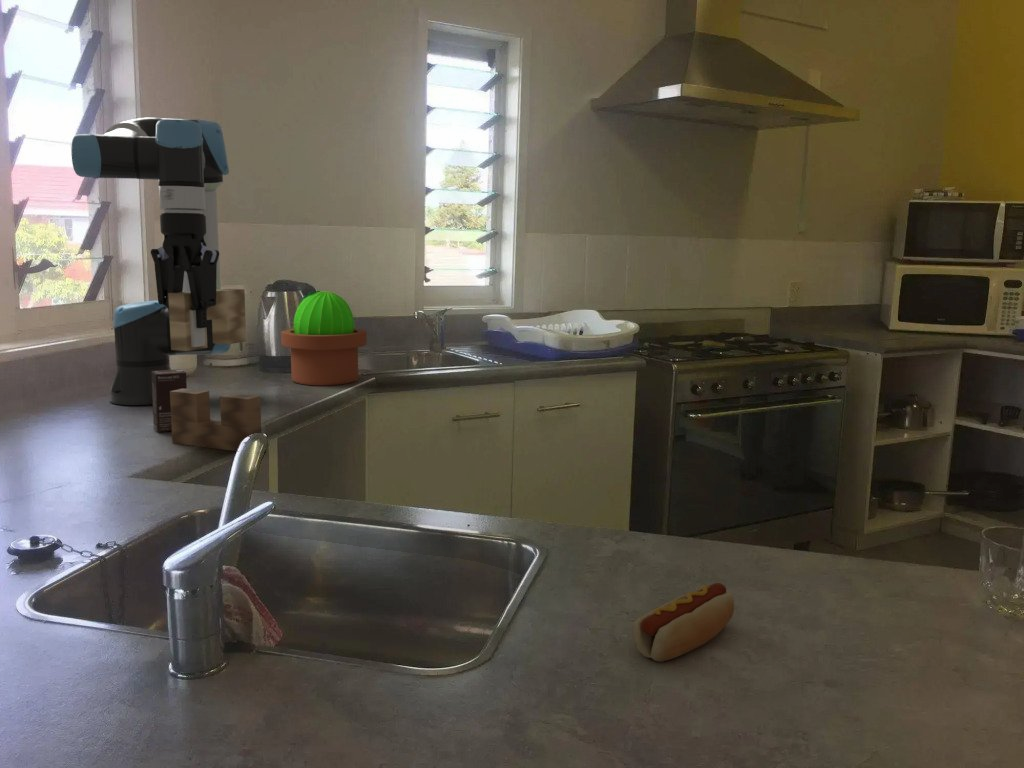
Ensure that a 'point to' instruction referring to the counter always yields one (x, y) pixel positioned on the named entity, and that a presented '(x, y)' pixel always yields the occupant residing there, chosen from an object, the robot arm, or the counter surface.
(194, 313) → the robot arm
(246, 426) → the notched wooden block
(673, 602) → the food
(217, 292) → the arched wooden block
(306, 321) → the potted cactus
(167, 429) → the box
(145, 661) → the counter surface
